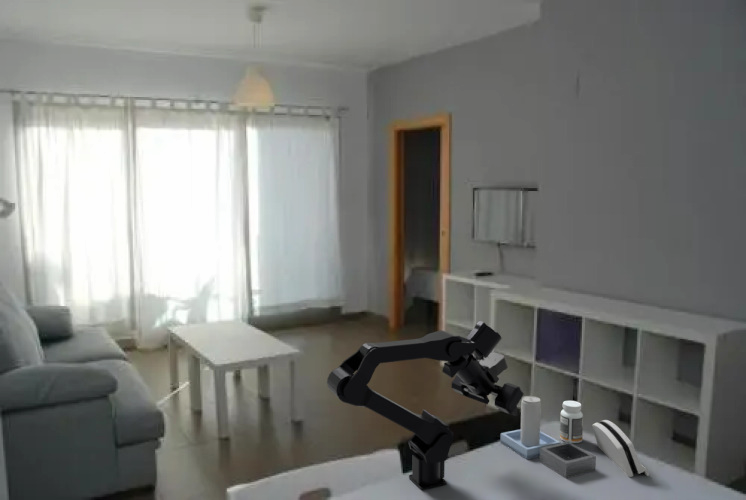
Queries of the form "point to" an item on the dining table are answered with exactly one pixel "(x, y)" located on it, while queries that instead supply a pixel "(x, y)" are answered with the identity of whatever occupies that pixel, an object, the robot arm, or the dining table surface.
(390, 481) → the dining table surface
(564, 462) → the short square tube
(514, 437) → the tray
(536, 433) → the beverage can
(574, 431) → the pill bottle
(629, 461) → the white black arched block
